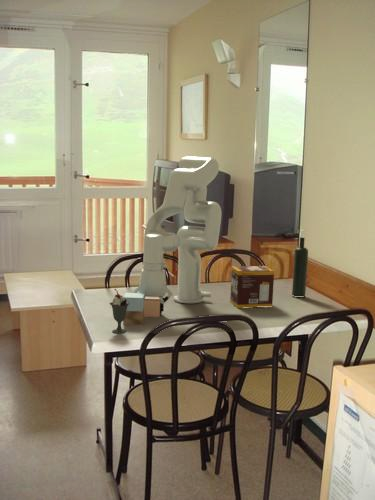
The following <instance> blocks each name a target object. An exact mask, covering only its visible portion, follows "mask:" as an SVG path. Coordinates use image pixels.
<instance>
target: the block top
mask: <svg viewBox="0 0 375 500" xmlns="http://www.w3.org/2000/svg"><path fill="white" fill-rule="evenodd" d="M123 297H124V298H125V299H126V300H127V302H128V303H129V305H128V306H127V311H143V309H144V293H139V292H137V293H133V292H125V293H124V296H123Z"/></svg>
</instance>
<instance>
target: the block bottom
mask: <svg viewBox="0 0 375 500" xmlns="http://www.w3.org/2000/svg"><path fill="white" fill-rule="evenodd" d="M144 320H145V317H144V309H143V311H126V317H125V319H124V320H123V321H122V323H123V325H140V326H141V325H142V326H143V324H144Z"/></svg>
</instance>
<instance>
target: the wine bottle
mask: <svg viewBox="0 0 375 500" xmlns="http://www.w3.org/2000/svg"><path fill="white" fill-rule="evenodd" d="M305 238H306V230H305V229H300V231H299V246H298V247H296V248H295V250H294V257H293V274H292V290H291V296H292V295H294V296H305V297H306V291H307V289H306V288H307V277H308V276H307V275H308V258H309V250H308V248H307V247H305V240H306V239H305Z"/></svg>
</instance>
